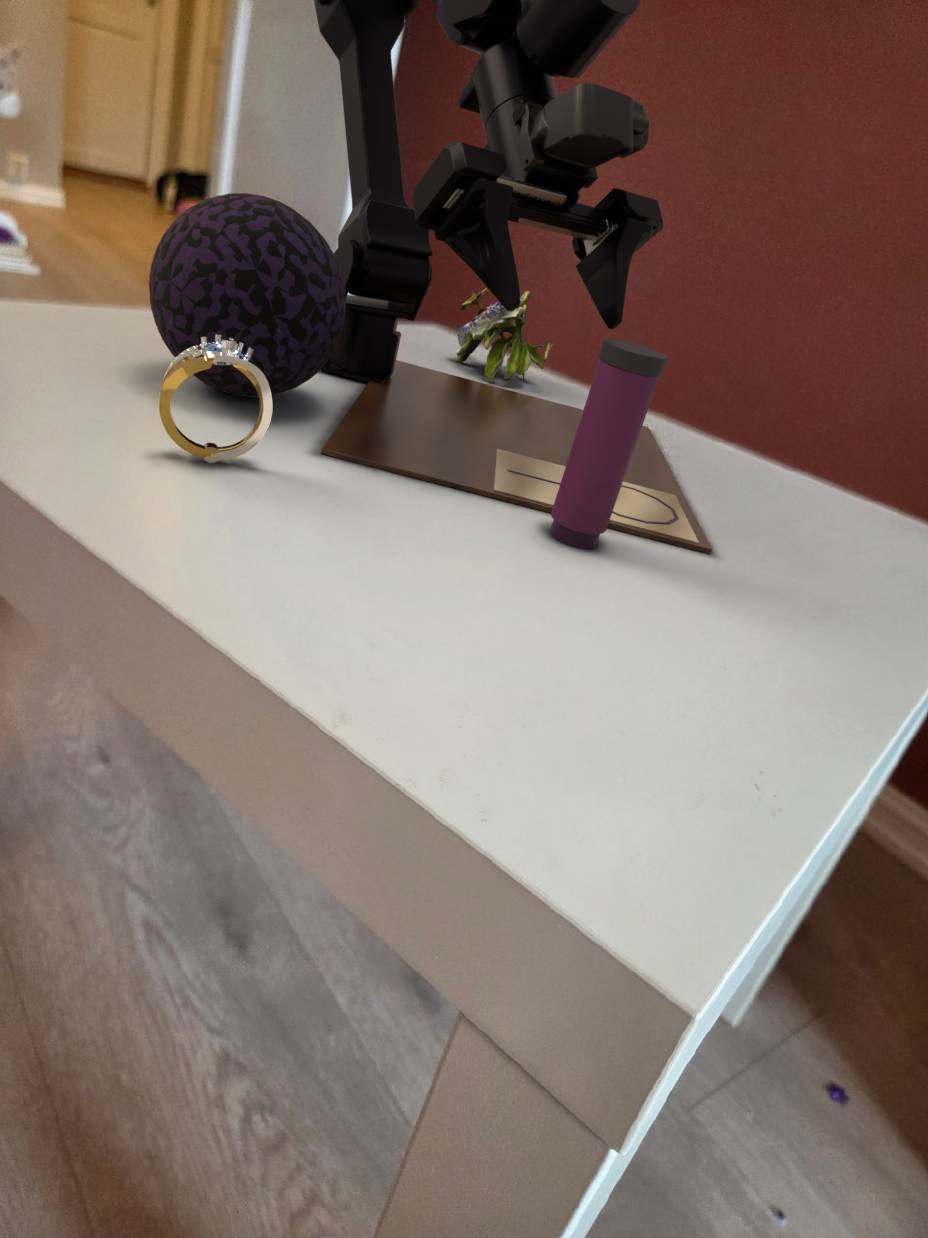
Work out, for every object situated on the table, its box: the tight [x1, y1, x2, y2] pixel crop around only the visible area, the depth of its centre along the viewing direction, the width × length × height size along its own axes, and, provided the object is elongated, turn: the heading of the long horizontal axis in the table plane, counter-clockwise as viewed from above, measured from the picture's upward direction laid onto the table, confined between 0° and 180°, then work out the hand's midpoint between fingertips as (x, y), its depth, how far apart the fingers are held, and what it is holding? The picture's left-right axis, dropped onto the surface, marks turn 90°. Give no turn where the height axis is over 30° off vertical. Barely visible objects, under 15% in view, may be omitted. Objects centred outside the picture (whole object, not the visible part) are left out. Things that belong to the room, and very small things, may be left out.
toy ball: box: [148, 192, 346, 398], centre depth 69 cm, size 15×15×15 cm
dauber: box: [549, 337, 668, 549], centre depth 59 cm, size 4×4×13 cm
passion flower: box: [454, 287, 554, 383], centre depth 104 cm, size 11×11×12 cm
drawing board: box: [320, 359, 713, 555], centre depth 81 cm, size 30×36×1 cm
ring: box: [158, 333, 273, 464], centre depth 56 cm, size 7×3×8 cm, turn 107°
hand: (566, 317), depth 62 cm, fingers open, 9 cm apart
